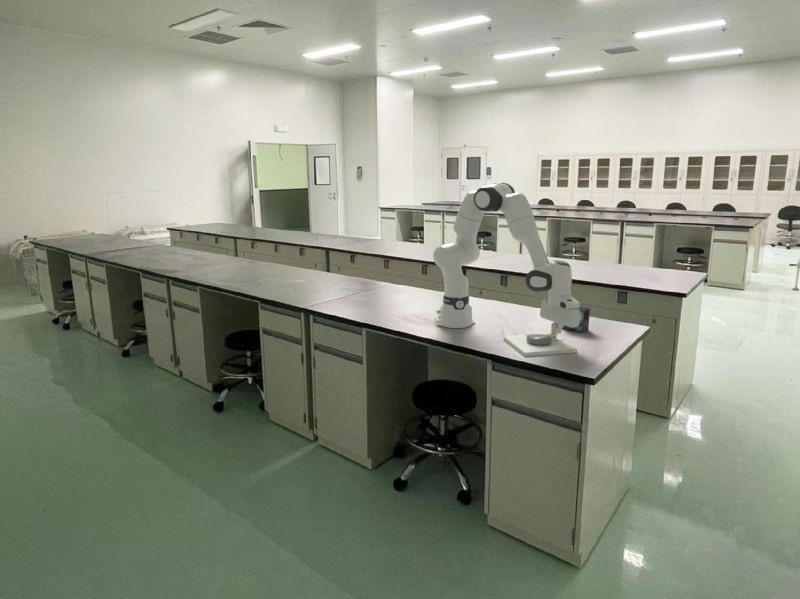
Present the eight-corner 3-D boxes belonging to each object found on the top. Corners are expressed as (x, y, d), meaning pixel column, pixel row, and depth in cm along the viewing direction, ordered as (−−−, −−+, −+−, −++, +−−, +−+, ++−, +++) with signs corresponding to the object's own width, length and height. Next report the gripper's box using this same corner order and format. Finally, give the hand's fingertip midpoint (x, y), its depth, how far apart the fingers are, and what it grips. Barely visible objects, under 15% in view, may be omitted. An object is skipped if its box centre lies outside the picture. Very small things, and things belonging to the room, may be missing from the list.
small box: (560, 328, 237) (561, 306, 235) (567, 325, 242) (568, 304, 239) (582, 333, 230) (583, 310, 228) (589, 330, 234) (590, 307, 232)
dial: (540, 346, 207) (541, 332, 205) (521, 340, 215) (521, 327, 213) (565, 339, 216) (566, 326, 214) (545, 333, 224) (546, 321, 222)
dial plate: (503, 339, 223) (503, 336, 222) (551, 336, 227) (551, 332, 226) (524, 356, 202) (525, 352, 201) (577, 352, 205) (577, 348, 205)
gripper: (536, 296, 221) (535, 328, 224) (570, 306, 203) (569, 340, 206) (548, 295, 223) (547, 326, 226) (583, 304, 205) (581, 337, 208)
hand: (558, 332), depth 216 cm, fingers closed
